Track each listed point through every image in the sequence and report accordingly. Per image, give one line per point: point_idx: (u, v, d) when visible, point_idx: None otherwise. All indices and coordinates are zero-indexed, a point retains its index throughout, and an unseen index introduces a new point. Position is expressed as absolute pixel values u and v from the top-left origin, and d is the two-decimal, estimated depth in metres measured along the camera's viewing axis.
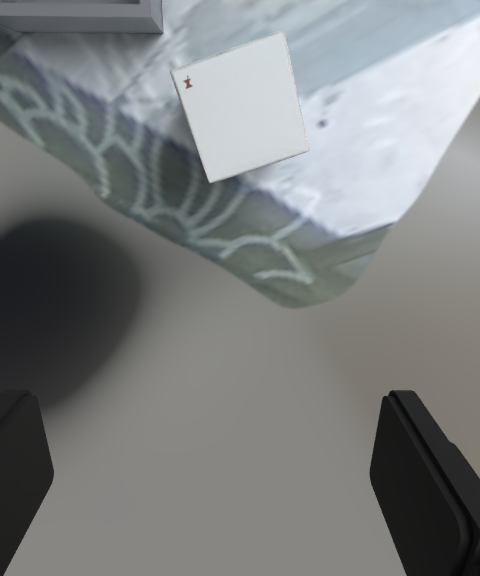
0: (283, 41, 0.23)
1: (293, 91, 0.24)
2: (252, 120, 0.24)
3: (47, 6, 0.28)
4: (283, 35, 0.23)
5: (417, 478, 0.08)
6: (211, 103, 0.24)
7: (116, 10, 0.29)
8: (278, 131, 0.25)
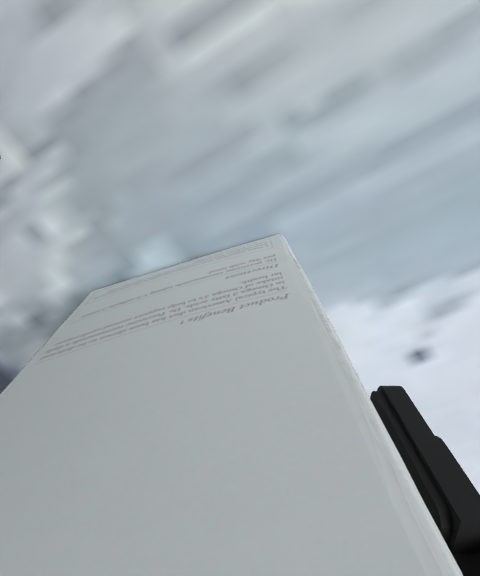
0: None
1: None
2: None
3: None
4: None
5: None
6: None
7: None
8: None
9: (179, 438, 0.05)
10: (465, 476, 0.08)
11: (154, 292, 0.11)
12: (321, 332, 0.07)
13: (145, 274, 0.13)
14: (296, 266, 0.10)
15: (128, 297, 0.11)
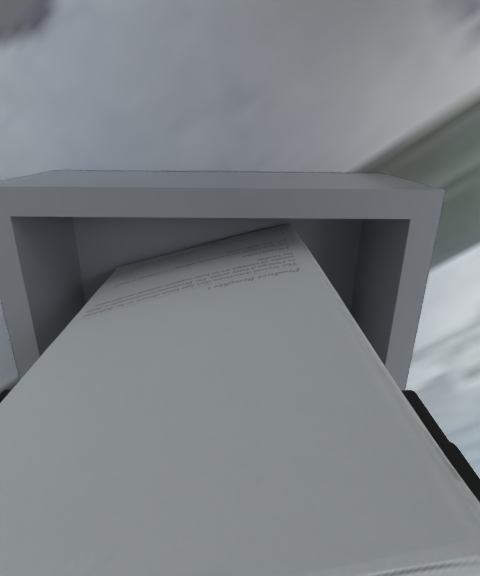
0: None
1: None
2: None
3: None
4: None
5: None
6: None
7: None
8: None
9: (219, 360, 0.07)
10: None
11: (179, 267, 0.12)
12: (327, 293, 0.08)
13: (167, 254, 0.15)
14: (305, 249, 0.11)
15: (155, 271, 0.13)
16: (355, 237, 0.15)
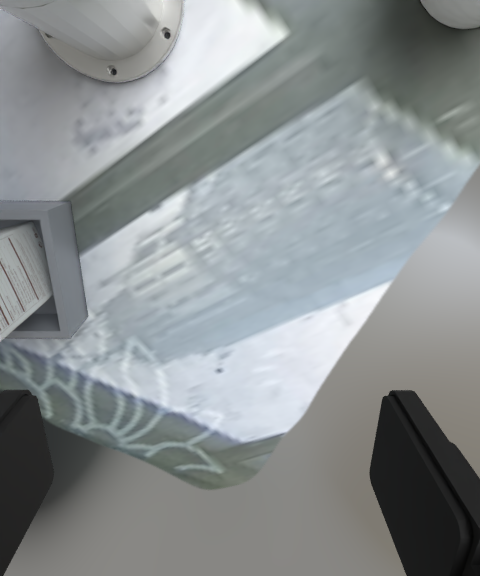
0: None
1: None
2: None
3: None
4: None
5: (417, 478, 0.08)
6: None
7: (43, 334, 0.38)
8: None
9: None
10: None
11: None
12: None
13: None
14: (13, 229, 0.34)
15: None
16: None
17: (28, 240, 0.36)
